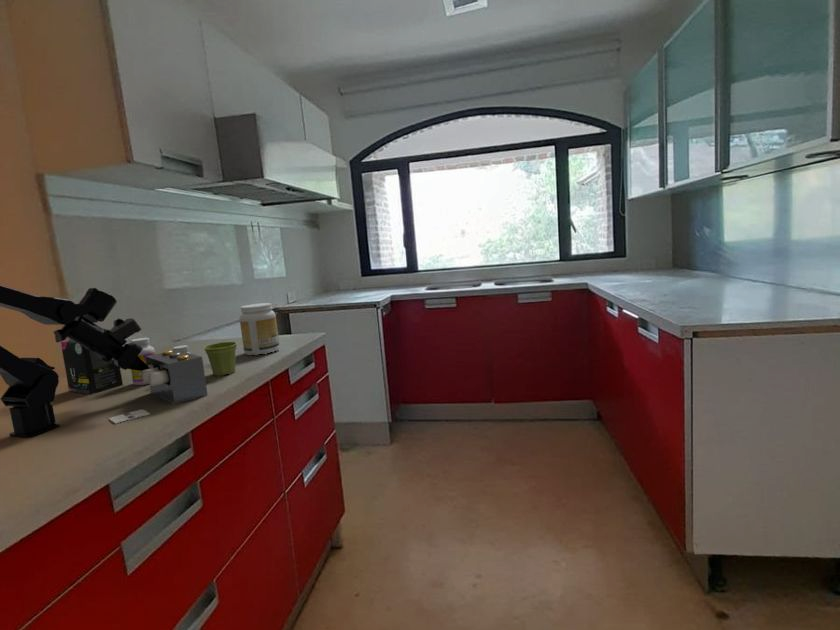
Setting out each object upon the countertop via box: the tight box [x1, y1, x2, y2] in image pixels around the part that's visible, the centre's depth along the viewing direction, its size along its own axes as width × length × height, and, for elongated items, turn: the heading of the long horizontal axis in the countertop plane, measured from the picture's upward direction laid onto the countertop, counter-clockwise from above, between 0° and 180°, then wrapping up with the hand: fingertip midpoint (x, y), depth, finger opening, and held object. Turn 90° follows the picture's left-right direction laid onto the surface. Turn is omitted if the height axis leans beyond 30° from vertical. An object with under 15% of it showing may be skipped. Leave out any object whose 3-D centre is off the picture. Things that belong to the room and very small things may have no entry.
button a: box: [148, 370, 169, 386], centre depth 118 cm, size 4×3×3 cm
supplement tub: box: [239, 302, 281, 356], centre depth 172 cm, size 12×12×17 cm
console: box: [145, 350, 208, 405], centre depth 126 cm, size 8×17×11 cm, turn 46°
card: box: [108, 409, 151, 425], centre depth 111 cm, size 7×5×1 cm
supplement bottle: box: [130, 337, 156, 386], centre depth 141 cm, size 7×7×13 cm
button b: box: [141, 367, 160, 383], centre depth 122 cm, size 4×3×3 cm
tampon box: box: [60, 339, 124, 395], centre depth 138 cm, size 11×9×15 cm
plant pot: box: [202, 341, 238, 377], centre depth 145 cm, size 9×9×9 cm
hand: (148, 370), depth 127 cm, fingers closed, pressing on button c
